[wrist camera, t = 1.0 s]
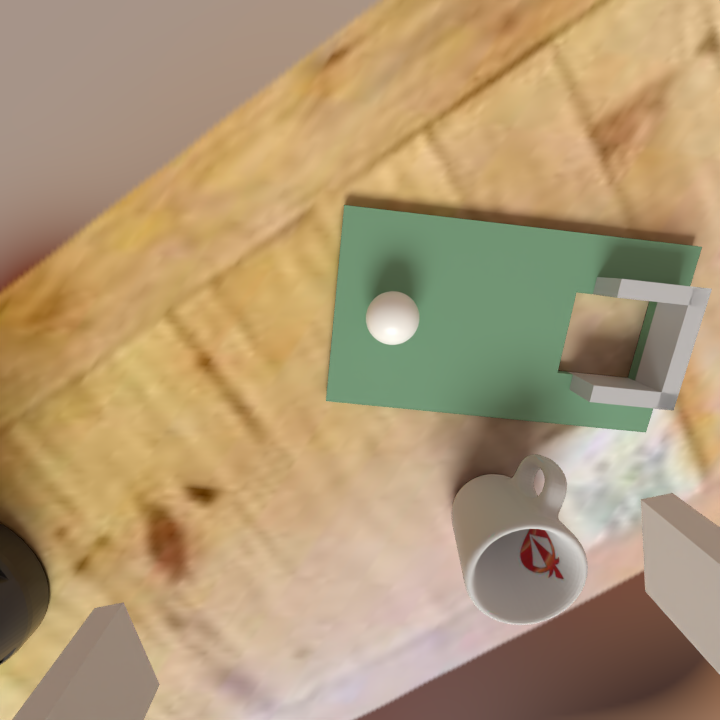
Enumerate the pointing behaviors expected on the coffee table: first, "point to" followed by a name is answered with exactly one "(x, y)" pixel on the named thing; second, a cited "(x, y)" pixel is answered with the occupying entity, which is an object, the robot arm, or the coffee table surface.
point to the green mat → (482, 314)
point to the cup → (518, 544)
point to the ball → (392, 318)
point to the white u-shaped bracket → (651, 346)
